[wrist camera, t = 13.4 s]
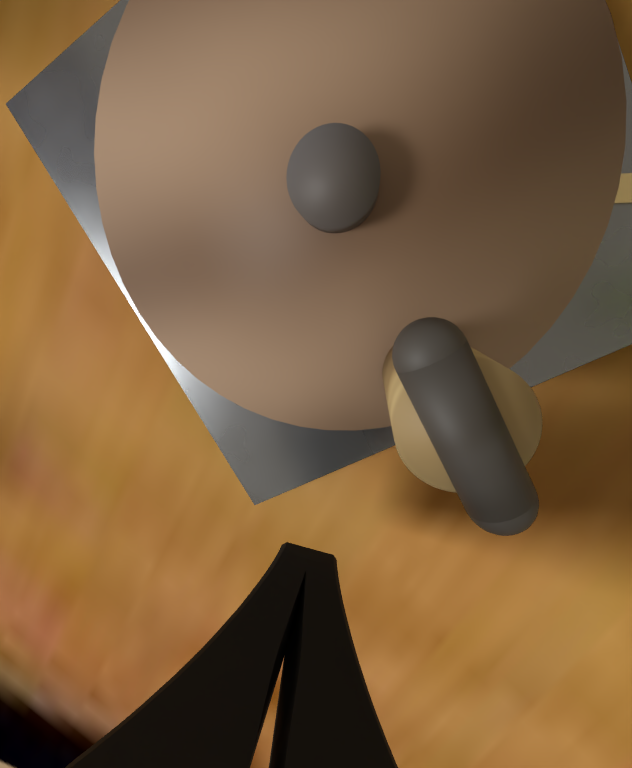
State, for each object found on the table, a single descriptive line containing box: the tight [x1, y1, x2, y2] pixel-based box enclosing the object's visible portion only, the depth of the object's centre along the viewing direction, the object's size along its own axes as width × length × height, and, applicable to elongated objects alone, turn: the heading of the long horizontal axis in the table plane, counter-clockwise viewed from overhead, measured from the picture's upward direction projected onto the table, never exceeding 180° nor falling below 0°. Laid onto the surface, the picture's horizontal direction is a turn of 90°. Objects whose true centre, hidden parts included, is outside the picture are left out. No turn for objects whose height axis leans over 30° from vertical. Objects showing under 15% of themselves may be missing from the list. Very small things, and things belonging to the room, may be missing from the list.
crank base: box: [6, 0, 632, 505], centre depth 10 cm, size 13×13×1 cm
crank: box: [94, 0, 626, 536], centre depth 6 cm, size 12×11×5 cm
